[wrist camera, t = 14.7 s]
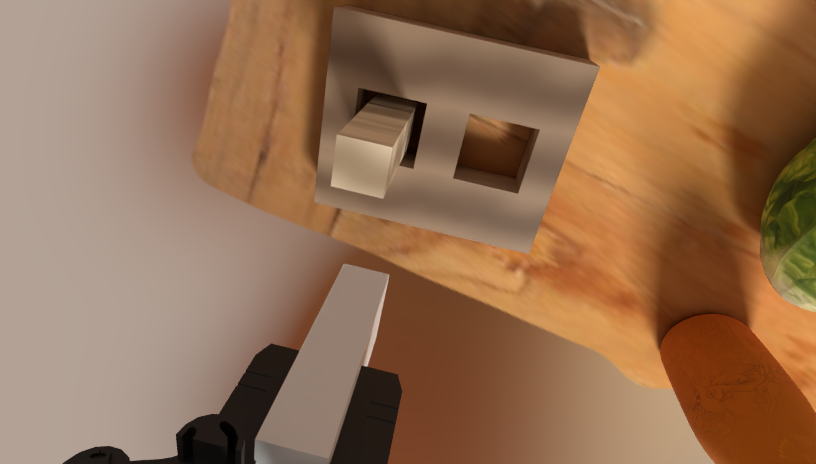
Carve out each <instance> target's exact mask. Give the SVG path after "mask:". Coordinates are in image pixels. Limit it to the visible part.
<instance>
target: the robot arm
mask: <svg viewBox="0 0 816 464" xmlns="http://www.w3.org/2000/svg"><path fill="white" fill-rule="evenodd" d="M388 278H389V274H385V273H381V272H377V271H373V270H368V269H365V268H361V267H356V266H352V265H348V264H343V266H342V269H341V271H340V272H339V274H338V276H337V278H336V280H335V282H334V284H333V286H332V288H331V290H330V292H329V294H328V296H327V298H326V300H325V302H324V304H323V306H322V308H321V310H320V312H319V314H318V316H317V318H316V320H315V322H314V324H313V326H312V328H311V330H310V332H309V334H308V336H307V338H306V340H305V342H304V343H303V346H302V348H301V349H300V351H298V350H294V349H291V348H287V347H283V346H279V345H274V344H270V345H269V346H267V347H266V348H264V349H263V350H262V351H260V352H259V353H258V354H256V355H255V357H254V358H253V360H252V362H251V363H250V365H249V366H248V368H247V370H246V372H245V374H243V376H242V378H241V379H240V381H239V383H238V386H236V387H235V389H234V391H233V392H232V394H231V395H230V397H229V399H228V400H227V402H226V403H225V405H224V407H223V408H222V410H221V412H220V413H219V414H210V415H206V416H201V417H198V418H196V419H194V420H193V421H191V422H189V423H187V424H186V425H185V426H184V427H183V428H182V429H181V430H180V431H179V432H178V433H177V434H176V440H177V451H178V455H177V456H174V457H171V458H165V459H156V460H140V461H130V460H129V457H128V456H127V455H126V454H125V453H124V452H123V451H122V450H121V449H118V448H114V447H111V446H104V447H94V448H91V449H88V450H85V451H82V452H80V453H78V454H76V455H75V456H73V457H72V458H70V459H68V460H67V461H65V462H64V463H63V464H387V463H388V458H389V454H390V448H391V443H392V439H393V433H394V429H395V424H396V419H397V414H398V409H399V404H400V399H401V394H402V389H401V385H400V382H399V378H398V374H394V373H390V372H385V371H382V370H377V369H374V368H370V367H367V365H368V362H369V359H370V356H371V352H372V349H373V346H374V343H375V339H376V336H377V331H378V326H379V321H380V317H381V312H382V307H383V302H384V297H385V293H386V288H387V283H388Z"/></svg>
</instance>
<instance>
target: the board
mask: <svg viewBox="0 0 816 464" xmlns="http://www.w3.org/2000/svg"><path fill="white" fill-rule="evenodd" d="M599 68H600V66H598V65H597V64H595V63H594V62H592V61H591V60H588V59H584V58H579V57H575V56H570V55H566V54H562V53H557V52H553V51H548V50H544V49H539V48H535V47H531V46H526V45H522V44H517V43H513V42H508V41H504V40H500V39H495V38H491V37H486V36H482V35H477V34H473V33H469V32H464V31H460V30H455V29H451V28H446V27H442V26H437V25H433V24H429V23H424V22H420V21H415V20H411V19H406V18H402V17H398V16H393V15H389V14H384V13H380V12H375V11H371V10H367V9H362V8H358V7H353V6H349V5H343V6H335V7H334V10H333V19H332V29H331V39H330V49H329V59H328V69H327V79H326V88H325V98H324V108H323V118H322V128H321V138H320V148H319V158H318V167H317V177H316V187H315V197H314V202H315V203H320V204H324V205H328V206H332V207H336V208H340V209H344V210H349V211H353V212H357V213H361V214H365V215H369V216H373V217H378V218H382V219H386V220H390V221H394V222H398V223H402V224H406V225H411V226H415V227H419V228H423V229H427V230H431V231H435V232H440V233H444V234H448V235H452V236H456V237H460V238H464V239H469V240H473V241H477V242H481V243H485V244H489V245H493V246H497V247H502V248H506V249H510V250H514V251H518V252H522V253H526V254H529V252H530V249H531V246H532V244H533V241H534V238H535V236H536V233H537V231H538V228H539V225H540V223H541V220H542V218H543V215H544V212H545V210H546V207H547V204H548V202H549V199H550V197H551V194H552V191H553V189H554V186H555V183H556V181H557V178H558V176H559V173H560V170H561V168H562V165H563V162H564V160H565V157H566V155H567V152H568V149H569V147H570V144H571V142H572V139H573V136H574V134H575V131H576V128H577V126H578V123H579V121H580V118H581V115H582V113H583V110H584V107H585V105H586V102H587V100H588V97H589V94H590V92H591V89H592V86H593V84H594V81H595V79H596V76H597V73H598V71H599ZM367 90H371V91H376V92H380V93H384V94H388V95H393V96H397V97H401V98H406V99H410V100H414V101H419V102H423V103H427V107H426V112H425V117H424V121H423V126H422V131H421V135H420V140H419V145H418V150H417V154H416V155H415V154H411V153H407V152H405V156H403V158H402V160H401V163H400V165H399V167H398V169H397V171H396V173H395V175H394V177H393V179H392V181H391V184H390V186H389V188H388V190H387V192H386V194H385V196H384V198H383V199H382V198H378V197H374V196H370V195H366V194H361V193H357V192H353V191H349V190H345V189H341V188H336V187H332V186H331V180H332V171H333V163H334V155H335V146H336V138H337V134H338V133H339V132H340V131H341V130H342V129H343V128H344V127H345V126H346V125H347V124H348V123H349V122H350V121H351V120H352V119H353V118H354V117H355V116H356V115H357V114H358V113H359V112H360V111H361V110H362V109H363V108H364V106H365V99H366V92H367ZM470 114H475V115H479V116H483V117H488V118H492V119H496V120H501V121H505V122H509V123H514V124H518V125H522V126H526V127H531V128H532V130H531V133H530V136H529V139H528V142H527V145H526V148H525V151H524V154H523V157H522V160H521V163H520V166H519V169H518V172H517V175H516V178H512V177H508V176H504V175H500V174H496V173H491V172H487V171H483V170H479V169H474V168H470V167H466V166H462V165H457V161H458V157H459V153H460V149H461V146H462V142H463V138H464V134H465V130H466V126H467V123H468V119H469V115H470Z"/></svg>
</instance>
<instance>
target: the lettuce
mask: <svg viewBox="0 0 816 464" xmlns="http://www.w3.org/2000/svg"><path fill="white" fill-rule="evenodd" d="M760 232H761V241H760V258H761V262H762V265H763V268H764V272H765V275H766V276H767V278H768V280H769V282H770V283H771V285H772V286H773V288H774V289H775V290H776V291H777V292H778V294H779V295H780V296H781V297H783V298H784V299H785V300H787V301H788V302H789V303H791V304H793V305H795V306H798V307H800V308H802V309H805V310H809V311H813V312H816V138H815V139H814V140H813V141H811V142H810V143H809V144H808V145H807V146H806V147H805V148H803V149H802V150H801V151H800V152H799V153H798V154H797V155H796V156H794V157H793V158H792V159H791V160H790V162H789V163H788V164H787V165H786V167H785V168H784V169H783V170H782V171H781V173H780V174H779V175H778V177H777V179H776V181H775V183H774V185H773V187H772V189H771V191H770V193H769V196H768V198H767V201H766V204H765V207H764V211H763V214H762V217H761V221H760Z"/></svg>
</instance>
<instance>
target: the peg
mask: <svg viewBox="0 0 816 464" xmlns="http://www.w3.org/2000/svg"><path fill="white" fill-rule="evenodd" d="M417 106H418V103H416V102H412V101H407V100H403V99H399V98H395V97H390V96H386V95H382V94H377V95H376V96H375V97H374V98H373V99H372V100H371V101H370V102H368V103H367V105H366V106H365V107H364V108H363V109H362V110H361V111H360V112H359V113H358V114H357V115H356V116H355V117H354V118H353V119H352V120H351V121H350V122H349V123H348V124H347V125H346V126H345V127H344V128H343V129H342V130H341V131H340V132H339V133H338V134H337V138H336V146H335V155H334V163H333V171H332V180H331V186H332V187H336V188H341V189H345V190H349V191H353V192H357V193H361V194H366V195H370V196H374V197H378V198H382V199H383V198H384V196H385V194H386V192H387V190H388V188H389V186H390V184H391V181H392V179H393V177H394V175H395V173H396V171H397V169H398V167H399V165H400V163H401V160H402V158H403V156H405V152H406V150H407V148H408V146H409V144H410V140H411V135H412V130H413V125H414V120H415V115H416V110H417Z"/></svg>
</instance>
